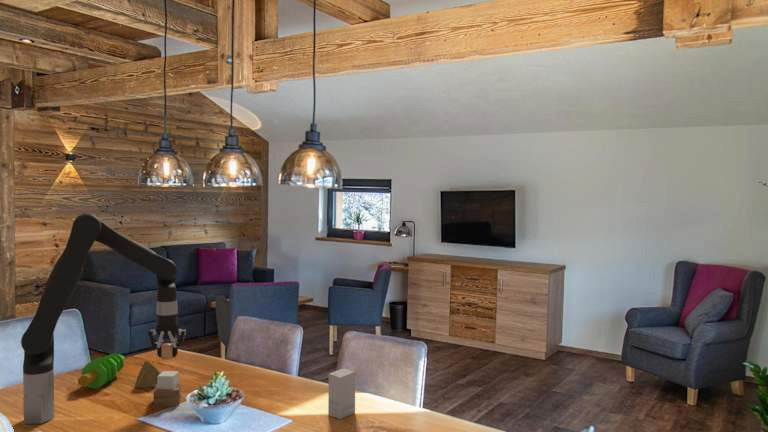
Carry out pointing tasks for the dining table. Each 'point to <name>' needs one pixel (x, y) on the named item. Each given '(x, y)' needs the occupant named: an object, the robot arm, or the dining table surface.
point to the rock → (147, 376)
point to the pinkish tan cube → (167, 351)
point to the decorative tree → (101, 371)
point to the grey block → (168, 380)
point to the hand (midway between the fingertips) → (167, 356)
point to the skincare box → (341, 393)
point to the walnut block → (167, 396)
